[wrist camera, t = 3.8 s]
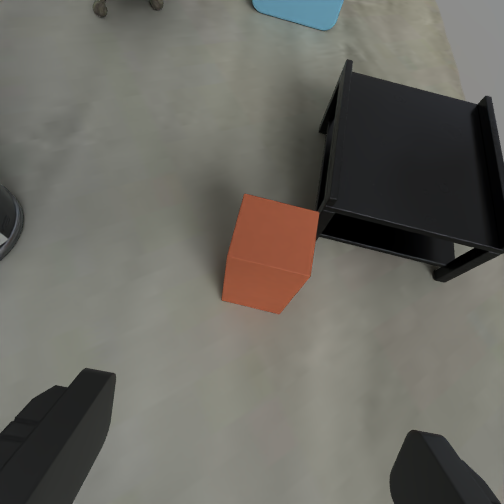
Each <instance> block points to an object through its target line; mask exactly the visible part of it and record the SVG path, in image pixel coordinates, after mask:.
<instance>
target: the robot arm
mask: <svg viewBox="0 0 504 504" xmlns="http://www.w3.org/2000/svg"><path fill="white" fill-rule="evenodd" d="M22 227H23V212H22V208H21V206H20V204H19V202H18V200H17V199H16V198H15V197H14V196H13V195H12V194H11V193H10V192H9V190H8V189H6V188H5V187H4V186H3V185H1V184H0V261H1V260H2V259H3V258H4V257H5V256H6V255H7V254H8V253H9V252H10V250H11V249H12V248H13V247H14V245H15V244H16V242H17V240H18V238H19V236H20V234H21V231H22ZM115 383H116V374H115V373H111V372H106V371H100V370H95V369H89V368H85V369H83V370H82V371H81V372H80V373H79V375H78V376H77V377H76V378H75V379H74V381H73V382H72V383H71V384H70V385H69V387H62V386H57V385H55V386H53V387H52V388H50V389H48V390H47V391H45V392H43V393H42V394H40V395H38V396H37V397H35V398H33V399H32V400H31V401H30V402H29V403H28V404H27V405H26V406H25V408H24V409H23V410H22V411H21V412H20V413H19V414H18V415H17V416H16V417H15V420H14V421H11V422H10V424H9V425H8V426H7V427H6V428H5V429H4V430H3V431H2V432H1V433H0V504H72V503H73V501H74V499H75V497H76V495H77V493H78V492H79V490H80V488H81V486H82V484H83V482H84V480H85V478H86V476H87V475H88V473H89V471H90V469H91V467H92V465H93V463H94V461H95V459H96V458H97V456H98V454H99V452H100V450H101V448H102V446H103V444H104V441H105V439H106V436H107V433H108V430H109V426H110V422H111V415H112V407H113V399H114V391H115ZM390 492H391V496H392V499H393V502H394V504H501V503H500V501H499V500H498V499H497V497H496V496H495V495H494V493H493V492H492V491H491V489H490V488H489V487H488V485H487V484H486V482H485V481H484V480H483V479H482V478H481V477H480V476H479V475H478V474H477V473H476V472H474V471H473V470H472V469H471V468H470V467H469V466H468V465H467V464H466V463H465V462H464V461H462V460H461V459H460V458H459V456H458V455H457V453H456V452H455V451H454V449H453V448H452V446H451V445H450V444H449V442H448V441H447V440H446V438H444V437H443V436H442V435H438V434H433V433H428V432H422V431H417V430H411V431H410V432H409V433H408V434H407V436H406V438H405V440H404V443H403V445H402V447H401V449H400V452H399V454H398V456H397V459H396V461H395V463H394V466H393V468H392V470H391V474H390Z"/></svg>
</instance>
